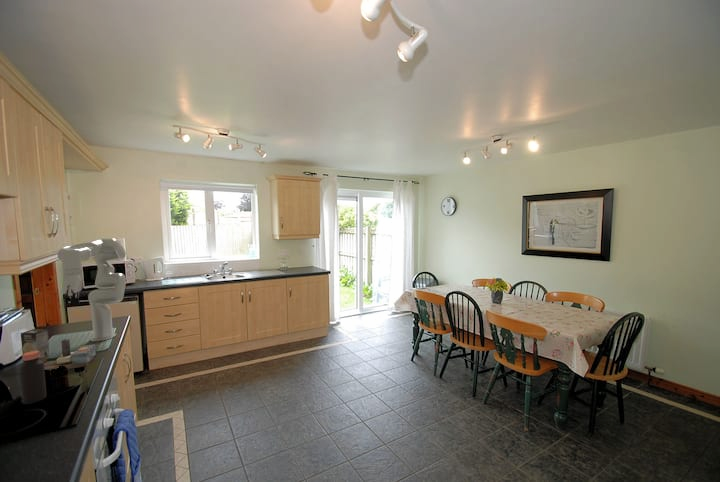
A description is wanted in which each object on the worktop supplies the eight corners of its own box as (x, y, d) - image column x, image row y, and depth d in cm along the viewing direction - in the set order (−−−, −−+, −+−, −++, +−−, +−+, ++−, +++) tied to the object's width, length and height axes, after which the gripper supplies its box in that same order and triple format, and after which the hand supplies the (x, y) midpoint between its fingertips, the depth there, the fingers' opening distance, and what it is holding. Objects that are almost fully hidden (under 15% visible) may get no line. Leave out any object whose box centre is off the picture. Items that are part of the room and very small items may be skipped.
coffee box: (22, 362, 162) (19, 333, 161) (36, 357, 169) (33, 328, 168) (37, 362, 161) (34, 333, 160) (50, 357, 168) (48, 329, 167)
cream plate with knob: (64, 357, 160) (62, 338, 160) (76, 355, 162) (75, 336, 162) (56, 363, 153) (55, 343, 153) (69, 361, 155) (68, 342, 155)
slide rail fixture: (41, 365, 158) (40, 352, 158) (96, 356, 168) (95, 344, 167) (28, 375, 147) (26, 361, 147) (87, 365, 157) (86, 352, 156)
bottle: (31, 405, 122) (26, 357, 121) (18, 403, 124) (13, 356, 122) (51, 396, 129) (47, 350, 128) (38, 394, 130) (34, 349, 129)
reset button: (81, 353, 161) (80, 347, 161) (89, 352, 163) (89, 346, 163) (78, 355, 158) (78, 350, 158) (86, 354, 160) (86, 349, 160)
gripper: (69, 270, 170) (72, 302, 171) (56, 274, 156) (59, 309, 158) (86, 269, 173) (89, 301, 174) (75, 273, 160) (78, 307, 161)
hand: (75, 304), depth 166 cm, fingers closed
